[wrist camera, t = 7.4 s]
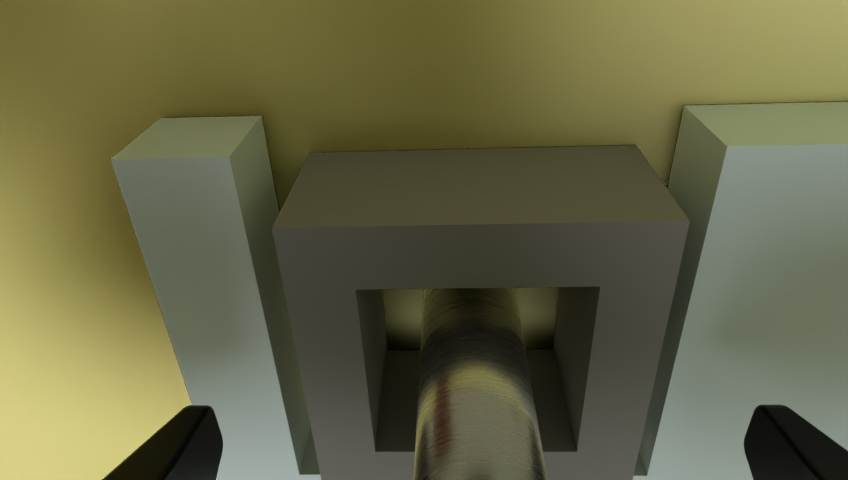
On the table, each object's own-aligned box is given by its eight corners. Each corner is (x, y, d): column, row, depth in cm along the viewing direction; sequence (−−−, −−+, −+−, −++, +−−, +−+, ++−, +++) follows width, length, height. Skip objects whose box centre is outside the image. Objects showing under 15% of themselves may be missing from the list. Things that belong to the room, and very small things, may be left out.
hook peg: (515, 244, 13) (562, 488, 8) (511, 317, 14) (550, 576, 9) (422, 245, 13) (407, 488, 8) (425, 318, 14) (414, 574, 9)
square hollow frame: (635, 144, 12) (689, 220, 9) (597, 385, 15) (630, 490, 12) (309, 152, 12) (271, 227, 9) (344, 386, 15) (323, 489, 13)
